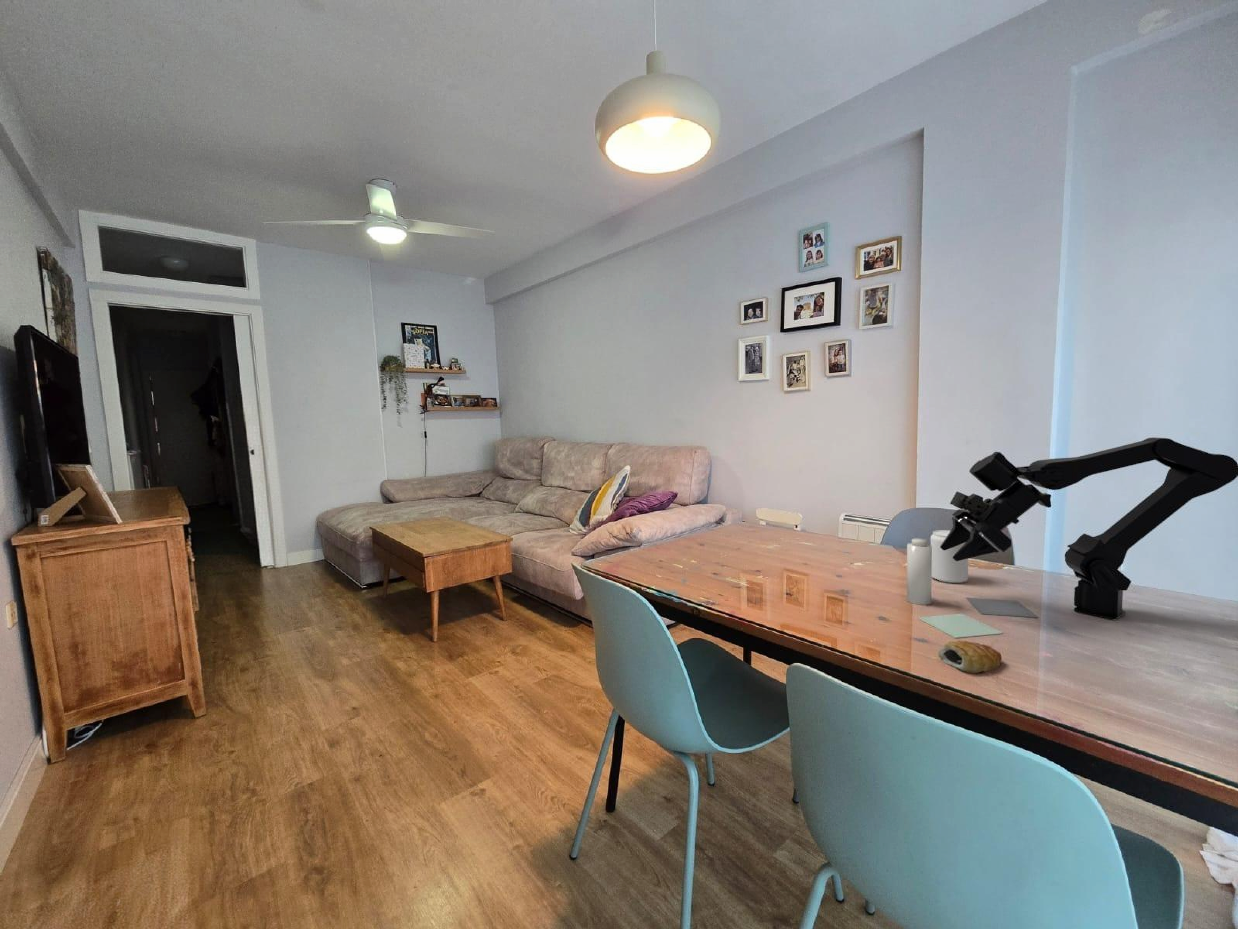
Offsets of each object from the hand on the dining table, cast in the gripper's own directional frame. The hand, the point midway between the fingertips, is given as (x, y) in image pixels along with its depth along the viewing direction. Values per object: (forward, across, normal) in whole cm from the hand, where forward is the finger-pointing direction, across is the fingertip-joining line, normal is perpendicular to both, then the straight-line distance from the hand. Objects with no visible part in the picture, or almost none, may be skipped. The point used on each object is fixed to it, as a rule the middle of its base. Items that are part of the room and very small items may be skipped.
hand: (947, 554), depth 113 cm
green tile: (+9, +14, +7) cm, 18 cm away
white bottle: (+12, 0, +4) cm, 12 cm away
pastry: (+12, +30, +5) cm, 33 cm away
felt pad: (+1, +1, +15) cm, 15 cm away
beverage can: (+4, -19, +12) cm, 22 cm away
